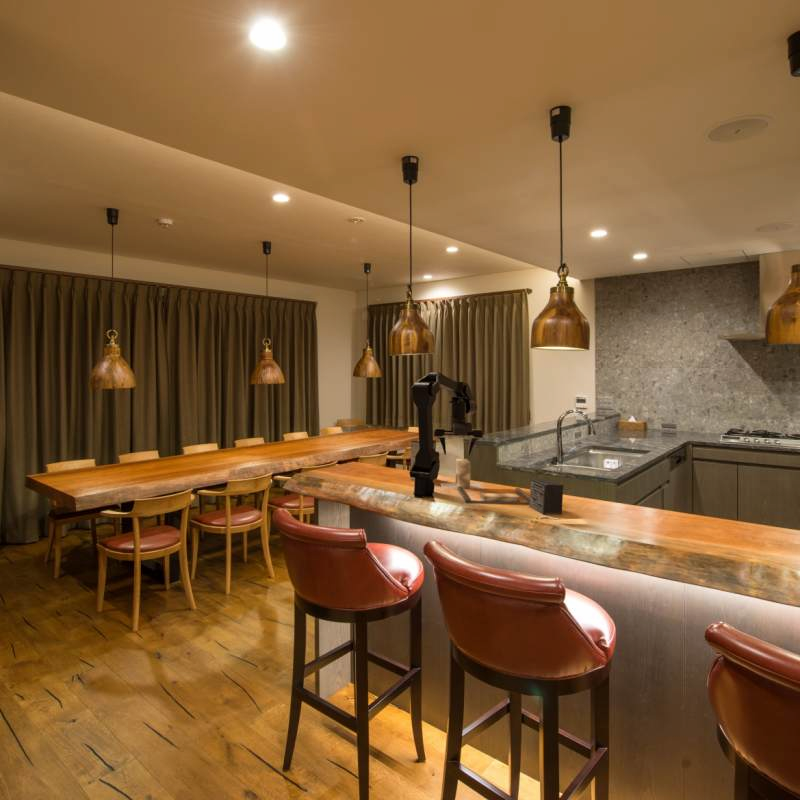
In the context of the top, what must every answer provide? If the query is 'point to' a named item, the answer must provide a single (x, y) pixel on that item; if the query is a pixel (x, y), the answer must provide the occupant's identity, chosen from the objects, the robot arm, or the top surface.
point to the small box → (546, 496)
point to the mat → (453, 485)
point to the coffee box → (415, 449)
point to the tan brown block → (463, 473)
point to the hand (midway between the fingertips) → (456, 455)
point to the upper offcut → (499, 497)
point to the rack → (518, 490)
